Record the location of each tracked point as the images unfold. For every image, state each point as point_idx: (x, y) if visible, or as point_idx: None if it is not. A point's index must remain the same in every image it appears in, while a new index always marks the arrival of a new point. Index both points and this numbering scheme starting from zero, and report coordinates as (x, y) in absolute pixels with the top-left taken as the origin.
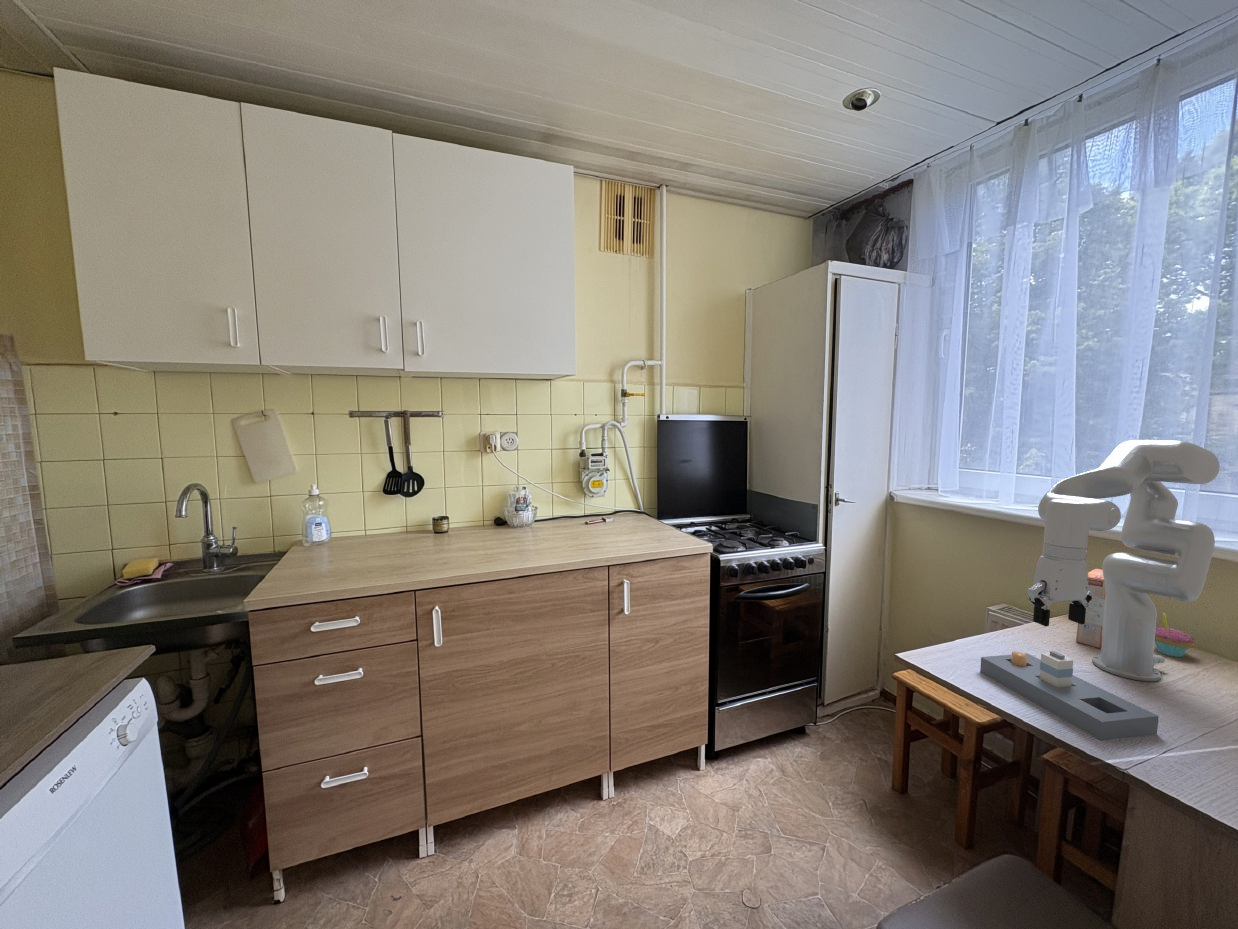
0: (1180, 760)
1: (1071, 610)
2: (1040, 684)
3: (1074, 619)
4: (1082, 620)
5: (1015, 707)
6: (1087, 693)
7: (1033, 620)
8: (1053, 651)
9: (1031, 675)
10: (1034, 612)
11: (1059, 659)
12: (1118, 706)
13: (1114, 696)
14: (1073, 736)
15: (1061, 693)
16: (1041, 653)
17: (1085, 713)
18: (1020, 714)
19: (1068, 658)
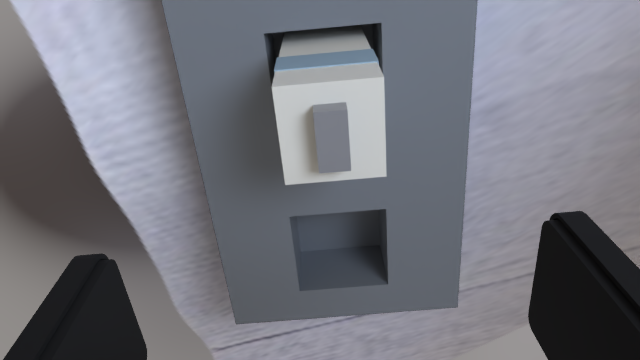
0: (381, 334)
1: (605, 320)
2: (226, 110)
3: (545, 284)
4: (549, 354)
5: (117, 107)
6: (365, 185)
7: (74, 260)
8: (335, 116)
9: (252, 28)
10: (28, 335)
11: (312, 165)
12: (387, 261)
13: (451, 207)
14: (192, 252)
15: (256, 179)
16: (272, 88)
17: (227, 285)
18: (105, 148)
19: (381, 156)
